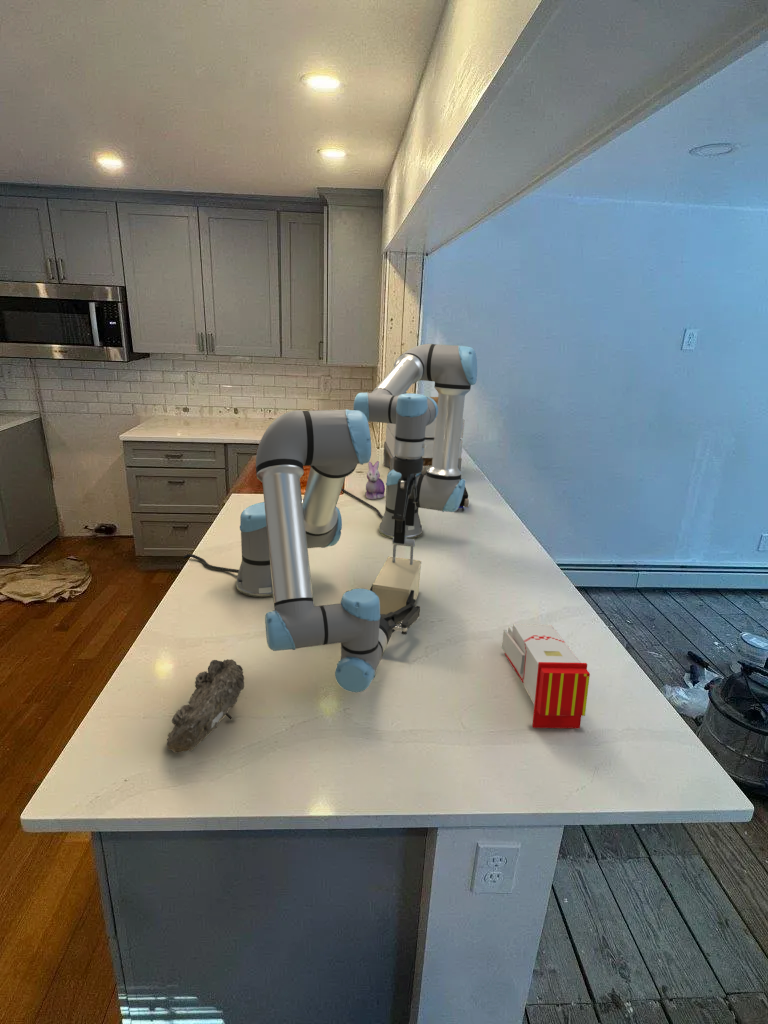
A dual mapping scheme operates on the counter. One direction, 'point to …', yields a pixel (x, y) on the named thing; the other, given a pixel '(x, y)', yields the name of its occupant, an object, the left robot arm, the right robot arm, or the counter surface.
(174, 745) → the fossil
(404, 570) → the lid
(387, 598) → the chest
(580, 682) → the toy
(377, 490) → the figurine
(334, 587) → the counter surface
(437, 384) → the right robot arm
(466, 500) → the figurine character
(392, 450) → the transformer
